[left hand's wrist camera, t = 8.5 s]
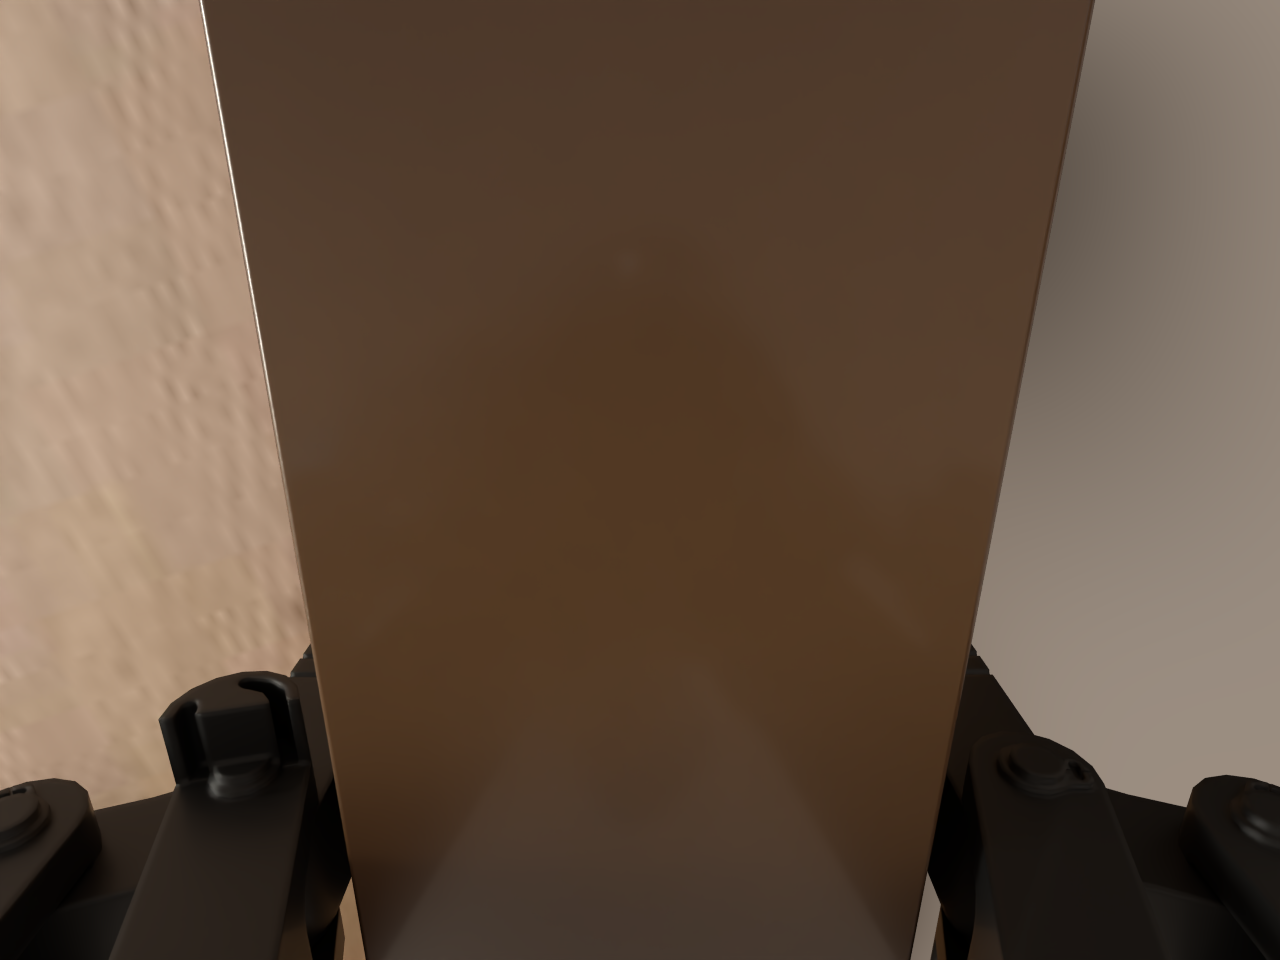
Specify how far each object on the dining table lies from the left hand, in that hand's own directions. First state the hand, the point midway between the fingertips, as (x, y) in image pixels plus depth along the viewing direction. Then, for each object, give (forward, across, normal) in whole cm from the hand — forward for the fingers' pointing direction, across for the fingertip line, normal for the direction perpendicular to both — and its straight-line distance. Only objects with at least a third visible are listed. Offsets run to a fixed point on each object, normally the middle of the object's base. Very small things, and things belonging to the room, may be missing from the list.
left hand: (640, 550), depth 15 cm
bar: (0, 0, -27) cm, 27 cm away
